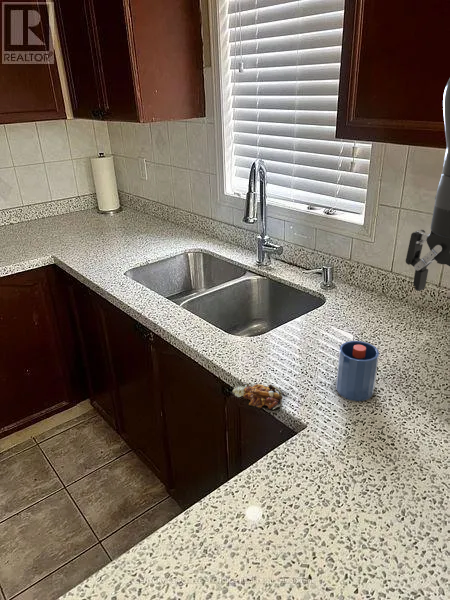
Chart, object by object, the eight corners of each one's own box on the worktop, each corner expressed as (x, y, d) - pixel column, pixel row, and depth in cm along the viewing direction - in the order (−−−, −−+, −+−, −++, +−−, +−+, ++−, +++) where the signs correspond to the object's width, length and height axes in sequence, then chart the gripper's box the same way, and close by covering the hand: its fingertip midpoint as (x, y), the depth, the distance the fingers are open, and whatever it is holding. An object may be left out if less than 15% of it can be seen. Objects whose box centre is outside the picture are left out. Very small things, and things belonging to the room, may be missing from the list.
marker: (363, 389, 102) (368, 348, 97) (355, 393, 100) (360, 352, 95) (353, 383, 104) (358, 343, 99) (346, 388, 102) (350, 347, 97)
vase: (380, 392, 101) (386, 351, 97) (357, 407, 97) (362, 365, 92) (351, 376, 107) (355, 336, 103) (328, 389, 103) (332, 349, 98)
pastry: (238, 384, 106) (237, 371, 105) (287, 395, 102) (287, 382, 100) (226, 402, 100) (226, 389, 99) (278, 414, 96) (279, 401, 94)
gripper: (521, 207, 67) (495, 304, 74) (431, 192, 77) (417, 279, 84) (497, 217, 63) (472, 318, 70) (406, 200, 73) (393, 290, 80)
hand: (442, 297), depth 77 cm, fingers open, 8 cm apart
